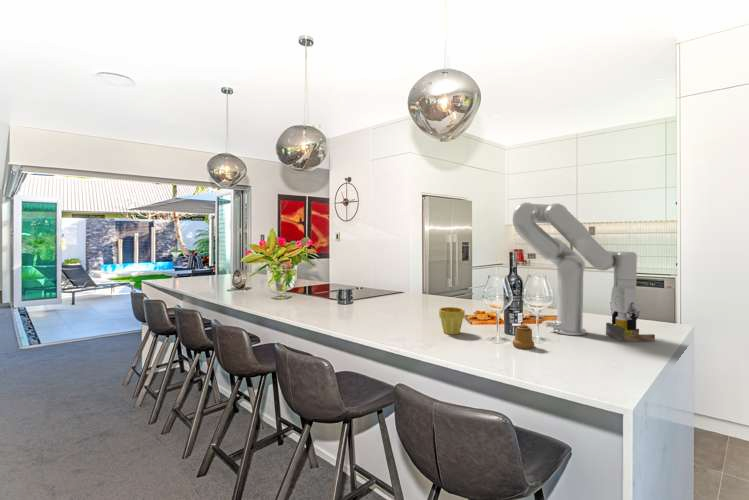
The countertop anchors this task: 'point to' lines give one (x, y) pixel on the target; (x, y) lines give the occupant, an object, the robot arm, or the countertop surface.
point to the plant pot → (451, 319)
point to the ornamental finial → (523, 337)
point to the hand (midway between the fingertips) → (623, 327)
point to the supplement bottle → (623, 323)
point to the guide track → (619, 335)
